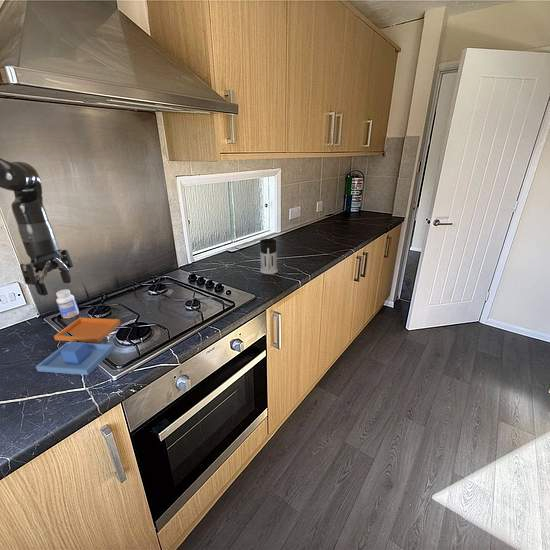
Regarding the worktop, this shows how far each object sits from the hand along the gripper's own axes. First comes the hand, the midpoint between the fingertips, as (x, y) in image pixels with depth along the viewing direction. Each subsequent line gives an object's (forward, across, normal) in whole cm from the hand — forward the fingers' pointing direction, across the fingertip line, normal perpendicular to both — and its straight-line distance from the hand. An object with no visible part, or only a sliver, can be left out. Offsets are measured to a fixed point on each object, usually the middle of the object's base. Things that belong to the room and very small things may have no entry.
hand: (56, 288), depth 89 cm
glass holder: (+16, -58, +56) cm, 82 cm away
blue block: (+16, +11, +12) cm, 23 cm away
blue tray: (+17, +11, +12) cm, 24 cm away
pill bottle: (+17, -11, -10) cm, 23 cm away
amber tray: (+17, -2, +5) cm, 18 cm away
